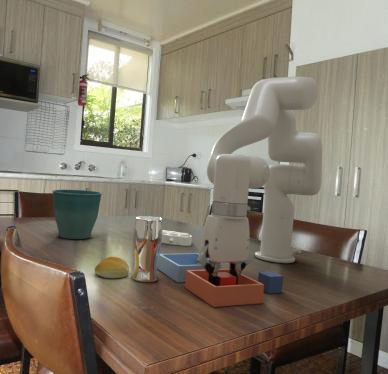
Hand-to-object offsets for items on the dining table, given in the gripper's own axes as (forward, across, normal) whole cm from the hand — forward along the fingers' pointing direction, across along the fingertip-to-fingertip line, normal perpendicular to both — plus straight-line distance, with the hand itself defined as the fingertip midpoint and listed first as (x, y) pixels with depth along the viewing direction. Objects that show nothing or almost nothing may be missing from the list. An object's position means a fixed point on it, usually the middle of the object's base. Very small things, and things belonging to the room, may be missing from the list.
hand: (222, 291), depth 82 cm
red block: (0, 0, 0) cm, 0 cm away
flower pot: (+1, +20, -67) cm, 70 cm away
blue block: (+1, -14, -1) cm, 14 cm away
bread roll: (+1, +20, -19) cm, 28 cm away
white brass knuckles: (+1, -15, -58) cm, 60 cm away
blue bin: (+1, 0, -16) cm, 16 cm away
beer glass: (+1, +13, -14) cm, 19 cm away
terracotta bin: (+1, 0, 0) cm, 1 cm away
